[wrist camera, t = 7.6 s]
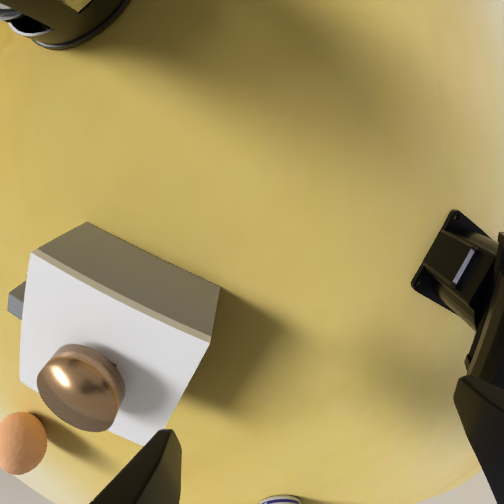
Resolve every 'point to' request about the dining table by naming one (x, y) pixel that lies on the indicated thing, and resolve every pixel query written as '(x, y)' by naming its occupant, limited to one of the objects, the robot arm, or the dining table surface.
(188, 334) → the white box with hole
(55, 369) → the plunger
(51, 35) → the french press
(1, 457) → the egg
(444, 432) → the dining table surface
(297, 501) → the energy drink
